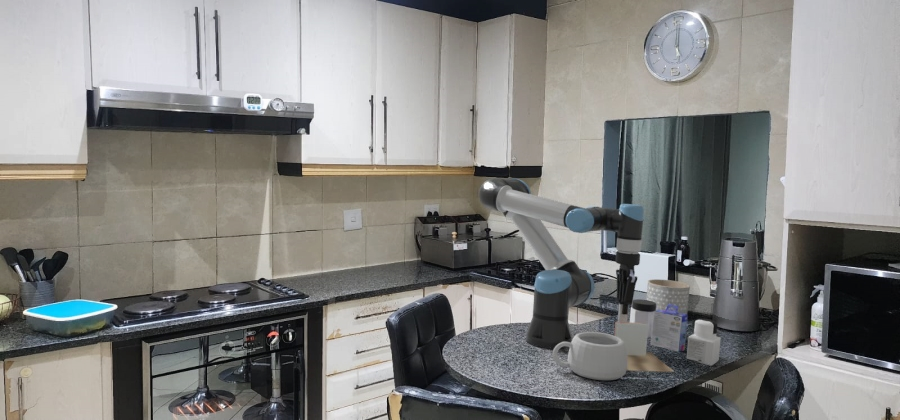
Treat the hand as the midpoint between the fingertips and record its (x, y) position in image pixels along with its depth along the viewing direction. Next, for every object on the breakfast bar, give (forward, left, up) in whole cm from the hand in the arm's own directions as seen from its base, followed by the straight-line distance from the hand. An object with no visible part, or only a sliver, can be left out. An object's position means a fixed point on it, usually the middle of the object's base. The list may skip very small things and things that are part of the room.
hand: (622, 323), depth 198 cm
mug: (-18, -24, -9) cm, 31 cm away
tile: (0, -8, -8) cm, 11 cm away
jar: (+14, +17, -9) cm, 24 cm away
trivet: (0, -14, -8) cm, 16 cm away
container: (+23, -10, -9) cm, 27 cm away
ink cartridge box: (+17, +2, -9) cm, 19 cm away
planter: (+38, +51, -9) cm, 64 cm away
